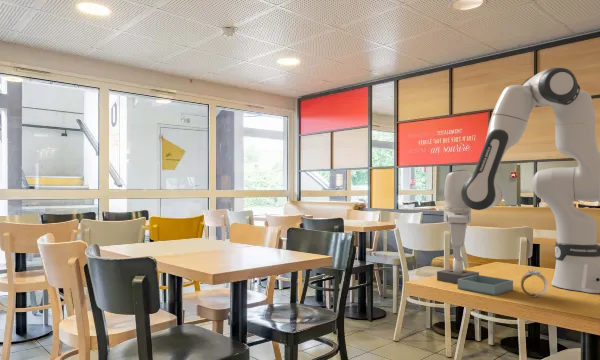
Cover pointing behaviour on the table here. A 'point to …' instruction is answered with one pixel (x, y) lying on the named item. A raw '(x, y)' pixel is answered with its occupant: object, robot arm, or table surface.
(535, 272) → the ring
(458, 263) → the cylinder
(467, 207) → the robot arm
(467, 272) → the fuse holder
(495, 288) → the tray
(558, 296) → the table surface
